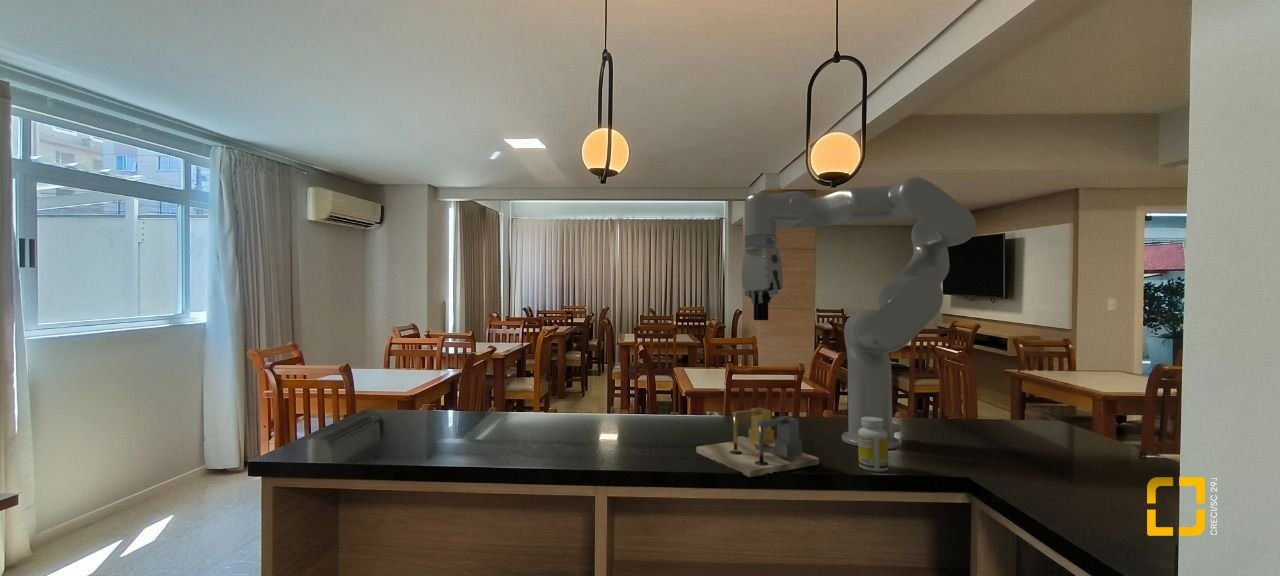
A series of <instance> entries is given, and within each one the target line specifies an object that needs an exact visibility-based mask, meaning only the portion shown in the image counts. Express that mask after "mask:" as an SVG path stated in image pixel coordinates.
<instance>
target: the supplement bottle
mask: <svg viewBox="0 0 1280 576" xmlns="http://www.w3.org/2000/svg"><path fill="white" fill-rule="evenodd" d="M861 423H862V426H863V428H860V429H859V430H858V446H857V447H858V448H857V451H858V454H857V455H858V465H859V467H860V468H862V469H863V470H866V471H868V472H878V473H879V472H881V473H882V472H886V471H888V470H889V449H888V436H887V432H886V431H884V430H883V429H882V427H883V425H884V424H883V419H881V418H877V417H862V418H861Z"/></svg>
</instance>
